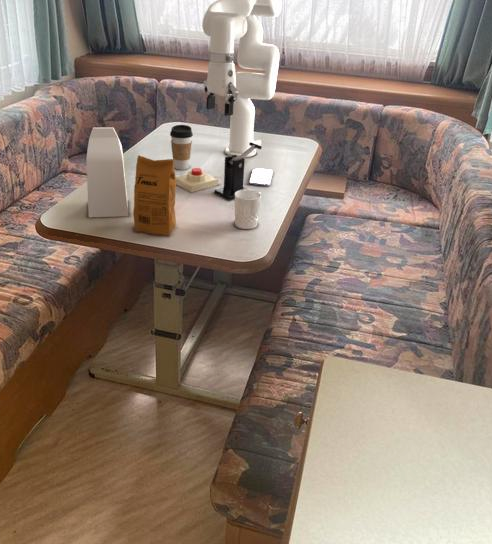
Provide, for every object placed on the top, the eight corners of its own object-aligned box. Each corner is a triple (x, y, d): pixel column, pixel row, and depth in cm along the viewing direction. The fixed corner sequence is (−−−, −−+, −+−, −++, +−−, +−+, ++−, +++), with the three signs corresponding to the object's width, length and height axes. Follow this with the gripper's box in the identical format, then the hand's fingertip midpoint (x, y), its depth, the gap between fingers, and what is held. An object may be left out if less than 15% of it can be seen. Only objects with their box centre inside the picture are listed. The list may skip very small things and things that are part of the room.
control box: (200, 176, 210) (201, 165, 208) (218, 184, 204) (218, 174, 202) (174, 183, 203) (174, 172, 201) (191, 192, 197) (191, 181, 195)
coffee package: (141, 218, 177) (139, 149, 166) (180, 224, 175) (180, 154, 164) (129, 232, 169) (125, 160, 158) (169, 238, 166) (168, 165, 155)
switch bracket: (236, 186, 203) (238, 151, 196) (251, 194, 197) (254, 158, 191) (214, 193, 197) (215, 157, 191) (229, 200, 192) (231, 163, 185)
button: (197, 171, 204) (197, 167, 203) (203, 174, 202) (203, 170, 201) (189, 173, 202) (189, 169, 201) (195, 177, 200) (195, 172, 199)
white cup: (231, 219, 179) (233, 189, 174) (256, 219, 180) (259, 189, 175) (234, 230, 172) (236, 199, 167) (260, 230, 173) (263, 199, 168)
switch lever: (252, 145, 197) (250, 139, 196) (262, 149, 194) (260, 143, 192) (227, 165, 194) (225, 160, 192) (237, 170, 190) (235, 164, 189)
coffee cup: (193, 163, 221) (194, 125, 214) (190, 171, 214) (191, 131, 207) (172, 162, 222) (172, 123, 214) (168, 170, 215) (168, 130, 207)
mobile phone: (248, 181, 204) (253, 167, 217) (248, 184, 205) (253, 170, 217) (269, 183, 203) (273, 169, 216) (269, 186, 204) (273, 171, 217)
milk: (88, 217, 177) (81, 134, 164) (90, 202, 186) (83, 122, 173) (128, 216, 178) (124, 133, 165) (127, 201, 188) (123, 122, 175)
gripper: (248, 61, 180) (244, 116, 189) (214, 52, 192) (212, 104, 200) (229, 63, 176) (226, 119, 184) (196, 54, 188) (195, 107, 196)
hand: (219, 111), depth 192 cm, fingers open, 9 cm apart
